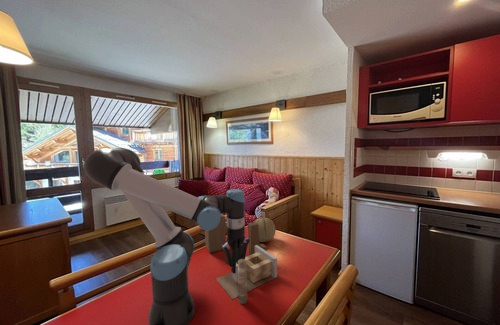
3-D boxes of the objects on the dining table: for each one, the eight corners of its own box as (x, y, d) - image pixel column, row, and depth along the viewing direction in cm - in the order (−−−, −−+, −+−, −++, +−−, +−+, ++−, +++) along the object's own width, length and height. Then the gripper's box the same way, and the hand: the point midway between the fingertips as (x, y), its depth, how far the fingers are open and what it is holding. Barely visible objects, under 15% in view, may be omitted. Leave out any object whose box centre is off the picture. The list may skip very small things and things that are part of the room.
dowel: (241, 305, 77) (240, 264, 75) (237, 300, 80) (236, 260, 78) (248, 301, 79) (247, 261, 77) (244, 296, 81) (243, 258, 80)
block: (205, 246, 123) (203, 213, 121) (221, 242, 127) (220, 210, 125) (209, 253, 114) (207, 218, 112) (226, 249, 118) (225, 215, 116)
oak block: (253, 283, 88) (253, 269, 87) (241, 271, 96) (240, 258, 96) (271, 274, 94) (271, 261, 93) (258, 264, 102) (258, 252, 101)
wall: (274, 278, 92) (274, 259, 91) (254, 262, 104) (254, 245, 103) (276, 277, 93) (276, 258, 92) (257, 261, 105) (256, 244, 104)
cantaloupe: (264, 249, 117) (263, 223, 116) (247, 240, 128) (246, 217, 127) (280, 240, 127) (280, 217, 126) (263, 233, 138) (263, 211, 137)
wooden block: (263, 251, 115) (262, 220, 114) (267, 255, 111) (266, 223, 109) (248, 254, 112) (247, 222, 110) (251, 259, 108) (250, 225, 106)
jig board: (232, 299, 80) (232, 299, 80) (215, 279, 92) (215, 278, 92) (278, 276, 93) (278, 275, 93) (258, 261, 106) (258, 260, 106)
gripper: (226, 233, 80) (227, 289, 82) (253, 225, 88) (253, 277, 90) (217, 226, 86) (218, 279, 89) (243, 220, 94) (243, 269, 96)
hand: (236, 278), depth 89 cm, fingers closed
